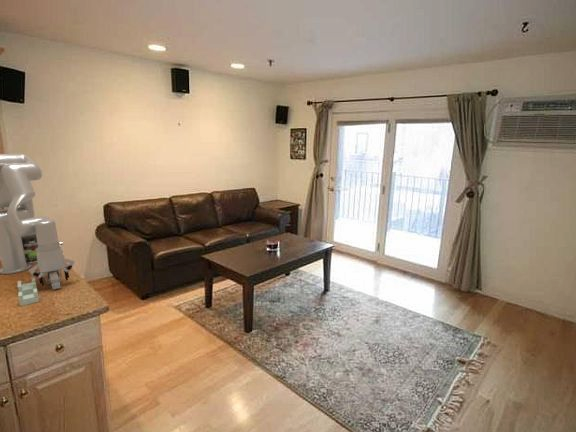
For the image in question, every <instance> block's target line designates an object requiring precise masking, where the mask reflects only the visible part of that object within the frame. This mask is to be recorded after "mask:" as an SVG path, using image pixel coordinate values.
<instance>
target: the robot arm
mask: <svg viewBox="0 0 576 432" xmlns="http://www.w3.org/2000/svg"><path fill="white" fill-rule="evenodd" d="M42 171H43V170H42V169H41V167H40V165H38V163H37V162H36V161H34V160H33V159H32V158H30V157H29V156H28V155H27V154H24V153H0V262H1V268H0V274H1V275H11V274H12V275H13V274H18V273H20V272H21V273H22V272H23V271H26V270H28V272H29V273H30V274H31V275H32V276H33V277H35V278H38V280H39V285H41V286H42V287H44V286H45V282H44V277H43V275H44V273H46V272H51V271H56V270H60V269H61V270H63V271H64V272H63V273H64V278H65V281H68V280H69V278H70V274H69V273H70V270H72V268H73V267H74V265H75V261H74V260H71V259H68V258H65V254H64V251H63V248H62V246H63V245H64V244H63V241H59V236H58V230H57V224H56V221H55V220H54V219H51V218H49V217H48V216H46V215H41V216H40V215H39V216H35V210H34V201H33V199H34V198H35V196H36V192H35V190H34V188H33V185H32V183H31V182H32V181H38V180H41V178H42V176H43V172H42ZM7 207H8V208H7ZM1 208H5V209H1ZM34 234H36V237H37V242H38V248H39V250H38V251H37V262H36V263H37V264H36V263H35V265H34V266H32V267H31V263H26V259H25V254H24V248H23V243H22V238H21V237H24V236H29V235H34ZM66 263H67V264H68V265H67V264H66ZM37 269H38V271H39V272H37V271H35V270H37Z"/></svg>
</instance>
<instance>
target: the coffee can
mask: <svg viewBox="0 0 576 432" xmlns="http://www.w3.org/2000/svg"><path fill="white" fill-rule="evenodd" d="M21 238H22V243H23V248H24V254H25V259H26V263H30V264H36V263H37V251H38V250H39V248H38V242H37V237H36V234H34V235H29V236H24V237H21Z"/></svg>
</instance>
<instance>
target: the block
mask: <svg viewBox="0 0 576 432" xmlns="http://www.w3.org/2000/svg"><path fill="white" fill-rule="evenodd" d="M61 270H62V269H60V270H56V271H57V274H58V278H59V281H60V282H63V276H62V271H61ZM43 275H44V280H45V283H46V285H49V284H50V285H51V281H50V277H49V273H48V272H46V273H44V274H43Z"/></svg>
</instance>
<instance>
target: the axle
mask: <svg viewBox="0 0 576 432" xmlns="http://www.w3.org/2000/svg"><path fill="white" fill-rule="evenodd" d="M48 273H49V277H50V281H51V283H50V285H51V288H52V290H56V289H61V281H59V278H58V274H57V271H51V272H48Z"/></svg>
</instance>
